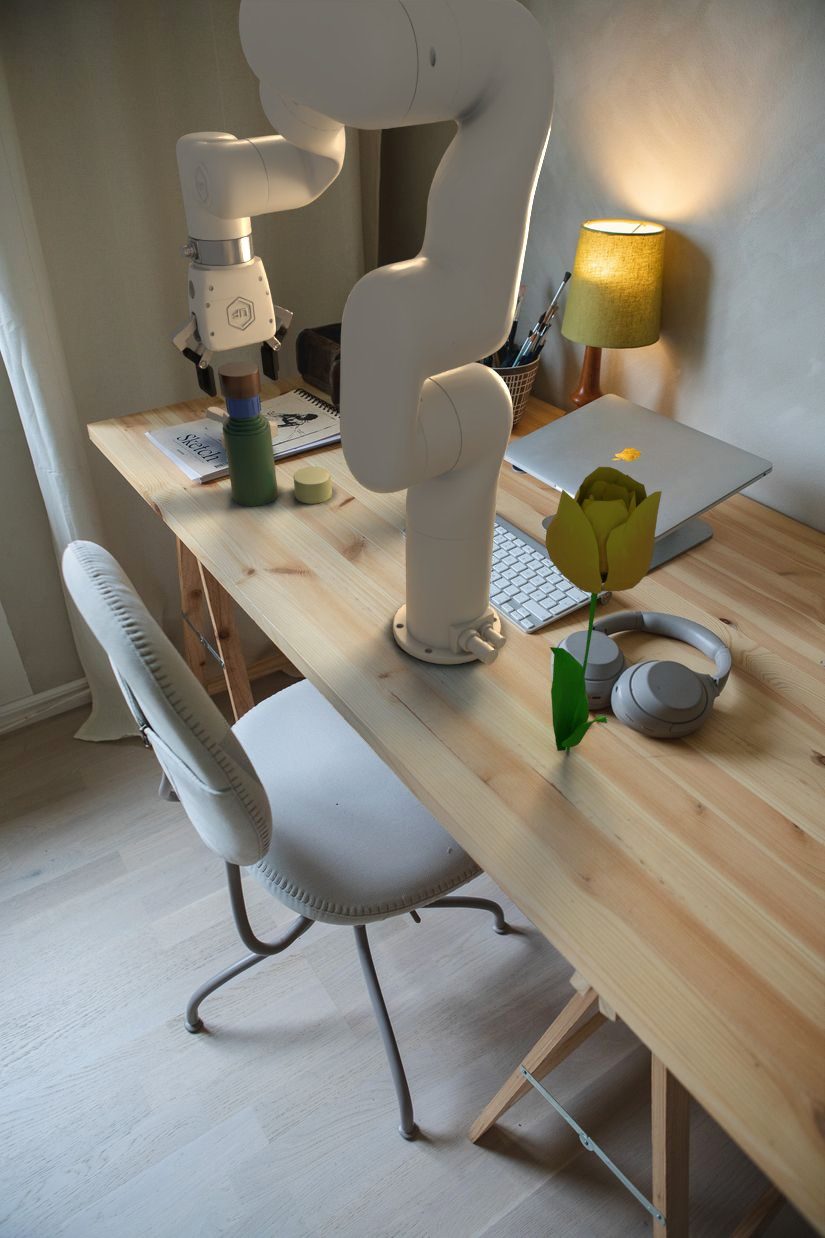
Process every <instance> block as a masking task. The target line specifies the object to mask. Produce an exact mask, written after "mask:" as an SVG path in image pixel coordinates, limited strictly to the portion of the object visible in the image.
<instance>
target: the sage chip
mask: <svg viewBox="0 0 825 1238" xmlns="http://www.w3.org/2000/svg"><path fill="white" fill-rule="evenodd" d="M331 475H332V474H331V472H330V471H329V470H328V469H326V468H323V467H319V466H308V467H303V468H301V469H299V470H297V471H295V472H294V474H293V485H294V486H293V487H294V495H295V496H294V497H295V499H296V500H297V501H298V502H301V503H303V504H310V505H312V504H313V505H314V504H321V503H324V502H327V501H328V500H329V499H331V497H332V495H333V490H332V477H331Z"/></svg>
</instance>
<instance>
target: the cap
mask: <svg viewBox="0 0 825 1238" xmlns="http://www.w3.org/2000/svg"><path fill="white" fill-rule="evenodd" d="M224 399H225V405H226V406H225V407H226V411H227V413H228V414H229V415H230V416H232V417H235V418H249V417H253V416H256V415H258V414H259V413H261V412H262V405H261V396H260V394H258V395H257V396H255V397H252V398H248V399H240V400H236V399H229V398H226V397H224Z"/></svg>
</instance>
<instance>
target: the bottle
mask: <svg viewBox="0 0 825 1238" xmlns="http://www.w3.org/2000/svg"><path fill="white" fill-rule="evenodd" d="M269 421H270V420H268V418H267V417H266V416H264V415H263V414H262V413H261V412H260V413H259V414H258V415H256V416H253V417H249V418H235V417H232V416H230V415H229V417H228V418H227V419H226V421H225V422H224V424H223V425H222V427H221V428H222V434H223V436H224V442H225V449H224V450H225V454H226V460H227V467H228V474H229V479H230V480H229V481H230V487H231V494H232V499H233V500H234V502H235V503H237V504H238V505H241V506H244V507H259V506H260V507H261V506H264V505H265V506H266V505H268V504H270V503H271V502H273V501H274V500H276V499H277V498H278V495H279V491H278V481H277V473H276V465H275V456H274V448H273V447H274V445H273V438H272V437H271V428H270V423H269Z"/></svg>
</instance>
